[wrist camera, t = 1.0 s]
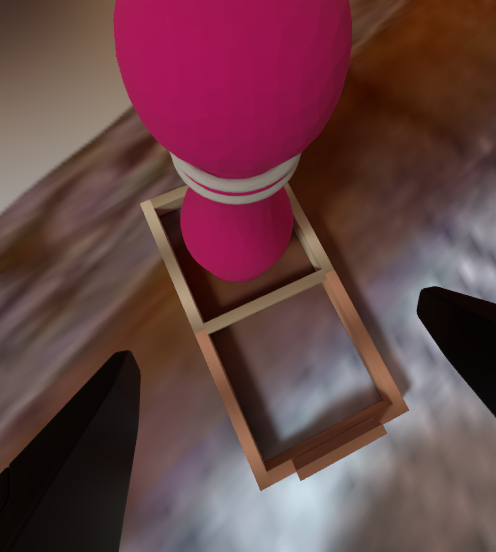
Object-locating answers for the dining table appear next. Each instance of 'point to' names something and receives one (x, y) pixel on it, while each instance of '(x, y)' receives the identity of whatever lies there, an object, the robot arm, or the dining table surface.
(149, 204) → the rack
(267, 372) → the dining table surface
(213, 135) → the pepper mill
